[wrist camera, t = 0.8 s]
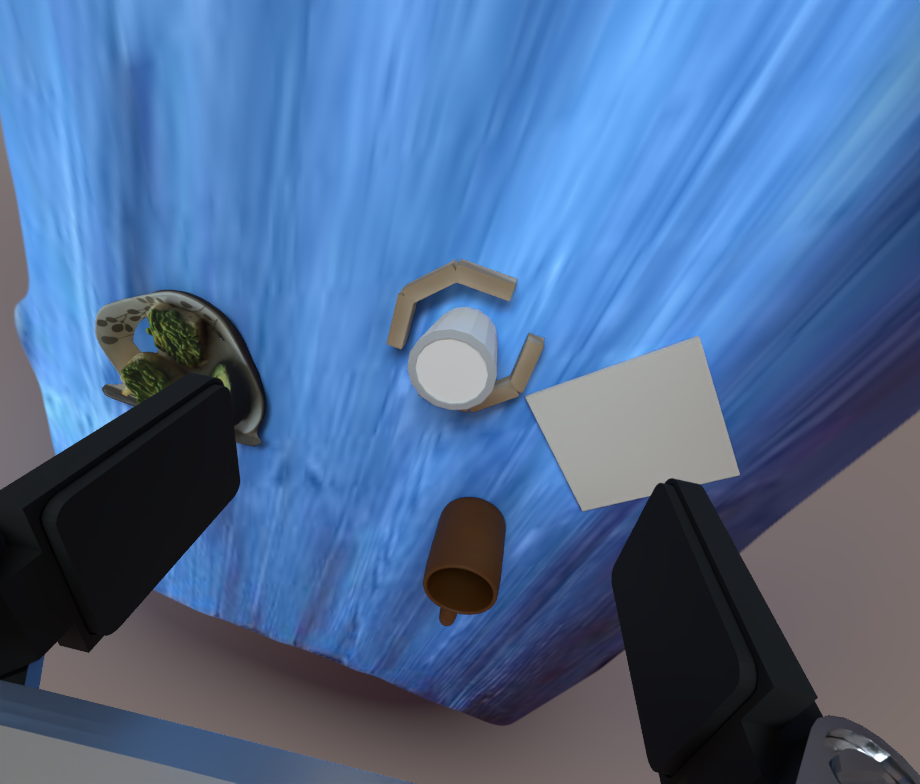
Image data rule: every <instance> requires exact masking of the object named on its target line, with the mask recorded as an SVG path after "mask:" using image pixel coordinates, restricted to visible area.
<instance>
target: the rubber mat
mask: <svg viewBox="0 0 920 784" xmlns="http://www.w3.org/2000/svg"><path fill="white" fill-rule="evenodd" d="M526 400H527V402H528V404H529V406H530V408H531V410H532V412H533V414H534V416H535V418H536V420H537V422H538V424H539V426H540V428H541V430H542V432H543V434H544V436H545V437H546V439H547V441H548V443H549V445H550V447H551V449H552V451H553V453H554V455H555V457H556V459H557V461H558V463H559V465H560V467H561V469H562V471H563V473H564V475H565V477H566V479H567V481H568V483H569V485H570V487H571V489H572V491H573V493H574V495H575V497H576V499H577V501H578V503H579V505H580V507H581V509H582V511H586V510H590V509H595V508H599V507H603V506H608V505H612V504H616V503H621V502H625V501H630V500H634V499H638V498H643V497H647V496H651V494H652V492H653V490H654V488H655V487H656V485H657V484H658V483H665V482H666V481H667V480H668V479H670V478H674V479H678V480H683V481H687V482H692V483H697V484H704V483H708V482H712V481H717V480H721V479H725V478H730V477H734V476H738V475H740V473H739V470H738V467H737V463H736V460H735V456H734V453H733V449H732V446H731V443H730V439H729V436H728V432H727V429H726V425H725V422H724V419H723V415H722V412H721V408H720V405H719V401H718V398H717V395H716V391H715V388H714V384H713V381H712V377H711V374H710V371H709V367H708V364H707V360H706V357H705V354H704V350H703V347H702V343H701V340H700V337H699V336H695V337H692V338H690V339H687V340H684V341H681V342H678V343H675V344H672V345H670V346H667V347H664V348H661V349H658V350H655V351H652V352H650V353H647V354H644V355H641V356H638V357H635V358H632V359H629V360H627V361H624V362H621V363H618V364H615V365H612V366H609V367H607V368H604V369H601V370H598V371H595V372H592V373H589V374H587V375H584V376H581V377H578V378H575V379H572V380H569V381H566V382H564V383H561V384H558V385H555V386H552V387H549V388H546V389H544V390H541V391H538V392H535V393H532V394H529V395H526Z"/></svg>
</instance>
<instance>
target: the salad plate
mask: <svg viewBox="0 0 920 784" xmlns="http://www.w3.org/2000/svg"><path fill="white" fill-rule="evenodd" d="M146 316H147V319H148V321H149V323H150V327H149V328H146V332H147V333H148V334H149V335H152V336H153V337H154V341H155V346H156V347H157V348H159V350H158V352H157V353H153V352H143V353H142V352H141V351H140V350H139V349H138V348H137V346H136V345H135V344H134V342H133V335H134V331H135V329H136V327H137V325H138V323H139V322H140V321H141V320H142V319H144V318H145V317H146ZM95 333H96V338H97V340H98V342H99V344H100V346H101V348H102V350H103V351H104V353H105V354H106V356H107V357H108V358H109V360H110V361H111V363H112V364H113V365H114V367H115V368H116V370H117V372H118V373H119V375H120V376H121V377H120V379H121V380H122V381H123V382H122V384H117V385H113V384H106V385H104V387H103V388H102V391H103V392H104V394H105V395H106V396H108V397H110V398H112V399H115V400H118V401H121V402H124V403H126V404H130V405H133V406H137V405H138V404H140V403H141V402H143V401H145V400H146V399H148V398H149V397H151V396H153V395H154V394H156V393H157V392H159V391H161V390H162V389H164V388H165V387H167V386H169V385H170V384H172V383H174V382H175V381H177V380H178V379H180V378H182V377H183V376H185V375H187V374H189V373H198V374H202V375H207V376H211V377H216V378H219V379H221V380H222V382H223V383H224V386H226V387H227V388H228V389H229V390H230V395H231V403H232V412H233V421H234V430H235V439H236V442H237V443H241V444H245V445H249V446H256V445H258V444H260V443H262V442H261V441H260V439H259V437H258V434H257V432H258V427H259V425H260V423H261V421H262V419H263V416H264V412H265V392H264V388H263V385H262V382H261V379H260V375H259V372H258V370H257V368H256V366H255V364H254V361H253V359H252V357H251V354H250V352H249V350H248V348H247V345H246V343H245V341H244V339H243V338H242V336H241V334H240V333H239V331H238V330H237V329H236V327H235V326H234V325H233V323H232V322H231V321H230V320H229V319H228V318H227V317H226V315H225V314H224V313H222V312H221V311H220V310H219V309H217V308H216V307H215V306H213V305H212V304H210V303H209V302H207V301H206V300H204V299H202V298H200V297H198V296H195V295H193V294H191V293H187V292H183V291H176V290H160V291H156V292H153V293H150V294H146V295H141V296H136V297H132V298H127V299H122V300H118V301H115V302H113V303H109V304H107V305H104V306H103V307H102V308H101V309H100V310H99V312H98V313H97V316H96V321H95ZM220 338H221V339H222V340H221V339H220Z"/></svg>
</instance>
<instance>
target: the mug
mask: <svg viewBox="0 0 920 784" xmlns="http://www.w3.org/2000/svg"><path fill="white" fill-rule="evenodd" d="M505 530H506V527H505V520H504V517H503V515H502V514H501V512H500V511H499V510H498V509H497V508H496V507H495V506H494V505H493V504H491V503H489V502H488V501H485V500H483V499H479V498H474V497H463V498H459V499H456V500H454V501H452V502H450V503H449V504H448V505H447V506H446V507H445V508H444V510H443V511H442V514H441V516H440V519H439V523H438V526H437V529H436V533H435V536H434V539H433V543H432V546H431V550H430V553H429V556H428V560H427V564H426V569H425V574H424V579H423V587H424V590H425V593H426V594H427V596H428V597H429V599H430V600H431V601H432V602H434V603H435V604H436V605H438V606H439V607H441V609H440V614H439V620H440V622H441V624H442V625H444V626H450V625H451V624H453V623H454V621H455V619H456V616H457V613H458V614H467V615H471V614H479V613H482V612H485V611H487V610H489V609H490V608H491V607H492V606H493V605H494V604H495V602H496V600H497V596H498V591H499V586H500V580H501V572H502V562H503V553H504V541H505Z"/></svg>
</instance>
